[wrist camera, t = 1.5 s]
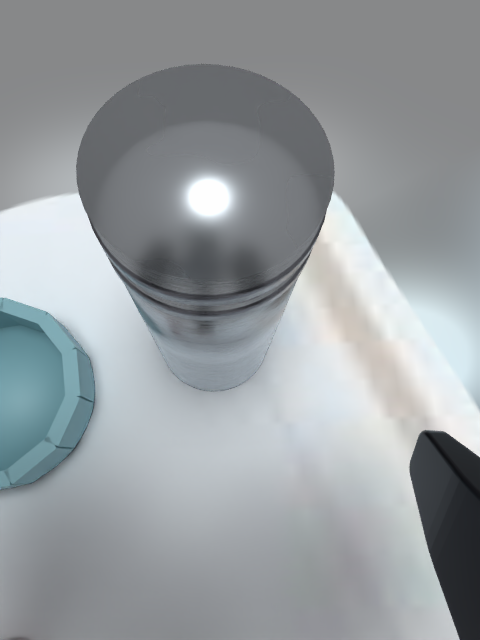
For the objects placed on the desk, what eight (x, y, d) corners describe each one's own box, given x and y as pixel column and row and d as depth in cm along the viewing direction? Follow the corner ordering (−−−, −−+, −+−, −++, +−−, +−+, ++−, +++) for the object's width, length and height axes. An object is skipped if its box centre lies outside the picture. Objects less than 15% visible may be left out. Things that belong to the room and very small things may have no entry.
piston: (290, 343, 21) (390, 176, 9) (208, 416, 20) (189, 339, 8) (220, 268, 22) (220, 26, 10) (137, 332, 21) (20, 147, 9)
